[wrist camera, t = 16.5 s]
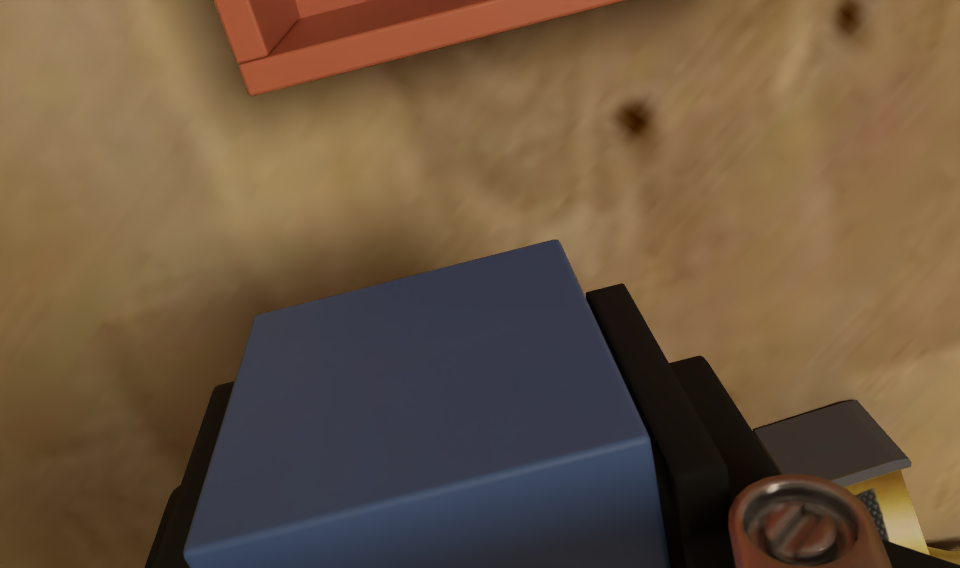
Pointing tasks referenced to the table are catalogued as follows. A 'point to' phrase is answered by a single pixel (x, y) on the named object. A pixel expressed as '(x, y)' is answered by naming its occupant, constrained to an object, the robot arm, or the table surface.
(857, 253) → the table surface
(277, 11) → the terracotta bin
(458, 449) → the blue block
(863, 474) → the handgun
